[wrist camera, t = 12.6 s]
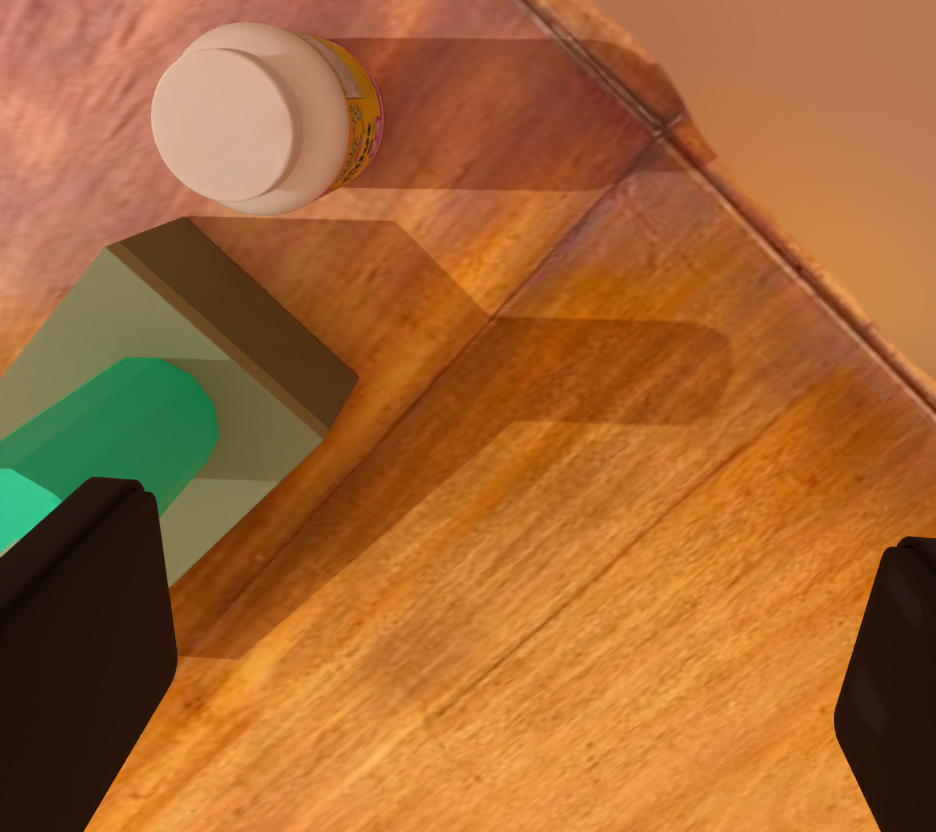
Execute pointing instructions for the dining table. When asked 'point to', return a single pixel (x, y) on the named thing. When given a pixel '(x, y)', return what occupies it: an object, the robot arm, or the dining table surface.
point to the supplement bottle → (266, 117)
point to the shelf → (191, 370)
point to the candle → (107, 441)
